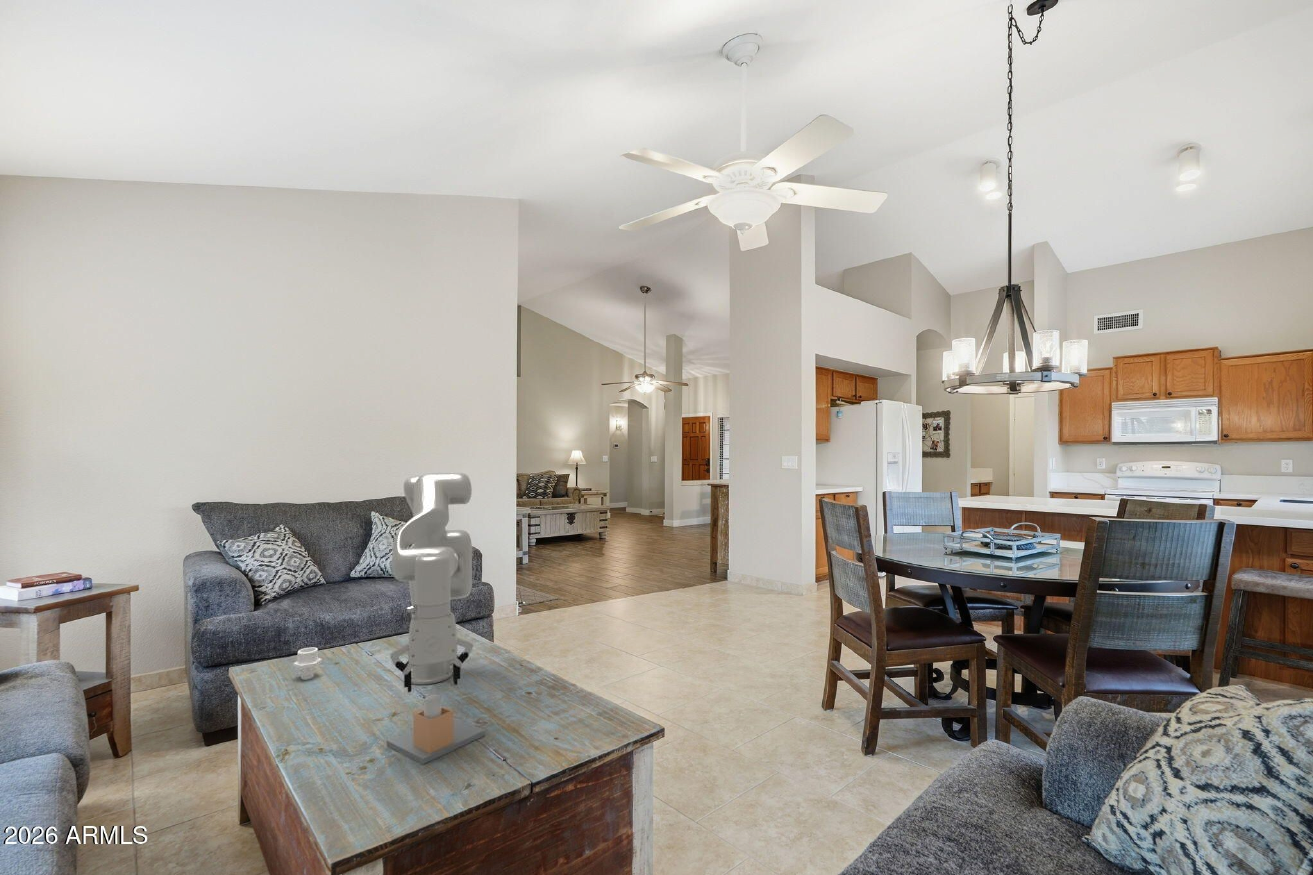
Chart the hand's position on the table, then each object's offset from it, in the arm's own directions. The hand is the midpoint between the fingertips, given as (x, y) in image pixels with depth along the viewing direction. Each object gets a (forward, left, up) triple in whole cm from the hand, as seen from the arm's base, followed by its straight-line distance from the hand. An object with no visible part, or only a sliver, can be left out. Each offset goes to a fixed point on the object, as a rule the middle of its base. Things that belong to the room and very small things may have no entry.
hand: (432, 686), depth 136 cm
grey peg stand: (-3, -2, -14) cm, 14 cm away
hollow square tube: (0, +1, -13) cm, 12 cm away
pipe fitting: (-4, -67, -14) cm, 69 cm away
